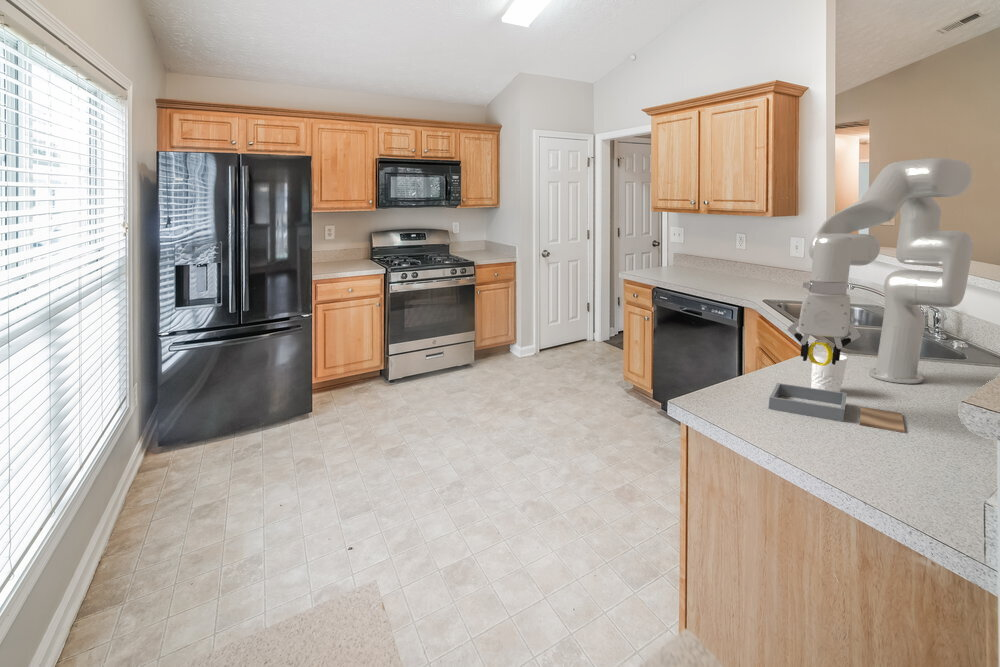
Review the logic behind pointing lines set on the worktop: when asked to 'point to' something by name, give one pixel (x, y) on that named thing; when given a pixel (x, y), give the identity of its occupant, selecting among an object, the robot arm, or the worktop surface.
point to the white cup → (828, 373)
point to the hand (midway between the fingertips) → (819, 360)
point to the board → (881, 419)
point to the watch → (828, 348)
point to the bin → (805, 407)
